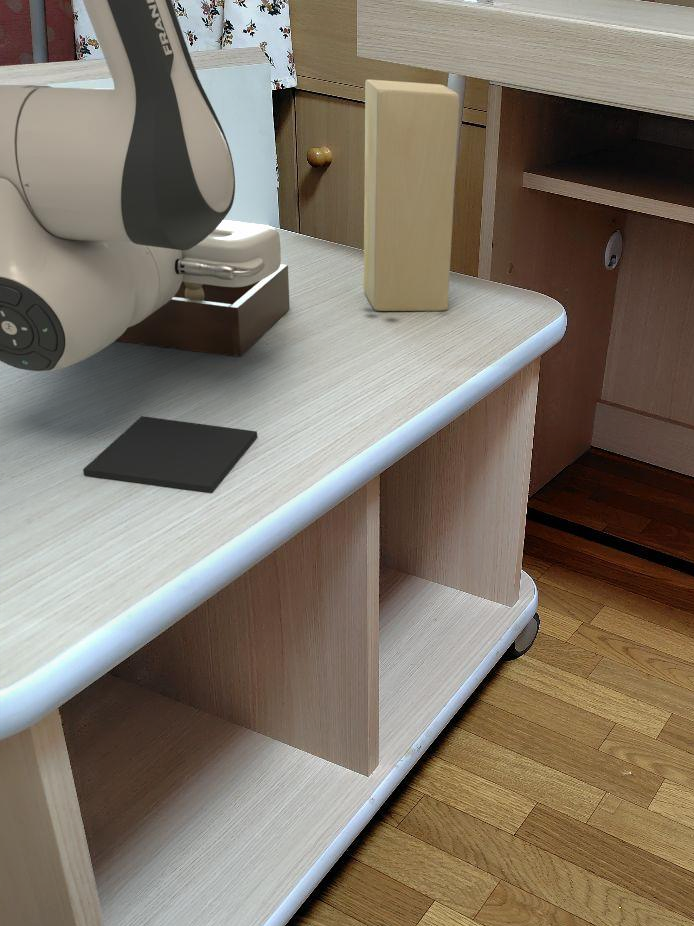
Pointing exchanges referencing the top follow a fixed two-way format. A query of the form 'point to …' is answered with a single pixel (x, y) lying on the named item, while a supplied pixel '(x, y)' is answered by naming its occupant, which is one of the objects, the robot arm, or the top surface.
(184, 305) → the crate
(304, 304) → the top surface
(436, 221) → the tall wooden block
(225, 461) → the pad
